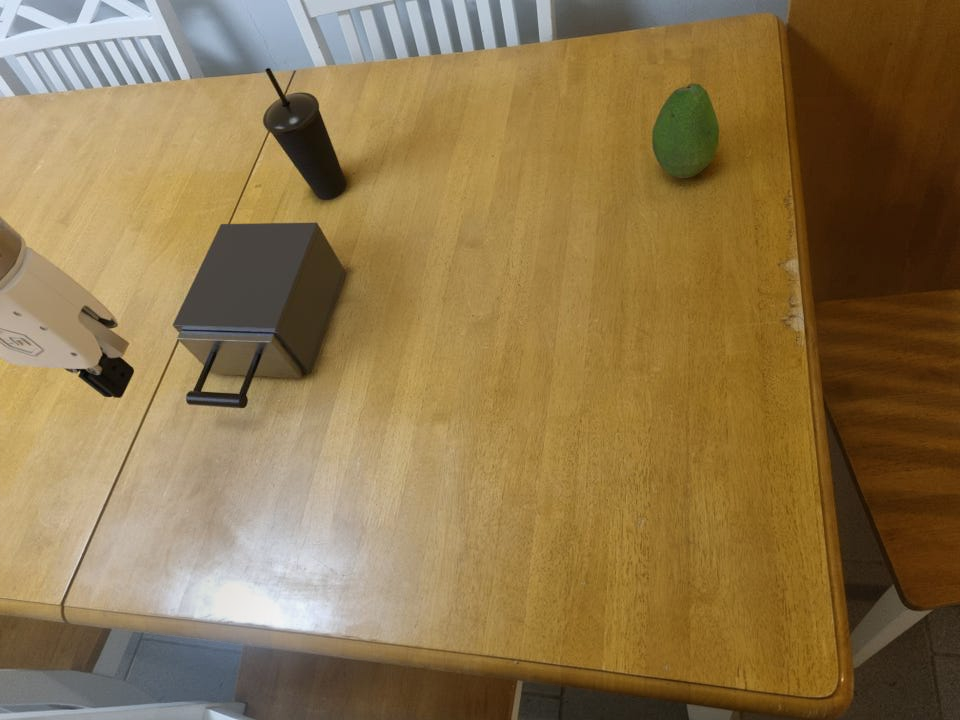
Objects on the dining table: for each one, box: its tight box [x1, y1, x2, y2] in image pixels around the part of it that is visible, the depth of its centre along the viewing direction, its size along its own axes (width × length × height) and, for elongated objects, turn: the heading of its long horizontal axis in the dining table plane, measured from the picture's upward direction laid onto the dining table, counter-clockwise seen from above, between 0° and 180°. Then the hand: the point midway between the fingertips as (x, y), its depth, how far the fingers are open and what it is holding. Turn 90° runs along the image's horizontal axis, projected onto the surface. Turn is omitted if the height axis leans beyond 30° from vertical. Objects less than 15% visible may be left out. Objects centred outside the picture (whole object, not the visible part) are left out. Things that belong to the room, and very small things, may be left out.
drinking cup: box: [262, 67, 347, 201], centre depth 98 cm, size 8×8×20 cm
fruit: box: [651, 82, 720, 179], centre depth 88 cm, size 8×8×12 cm
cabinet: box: [172, 222, 347, 375], centre depth 90 cm, size 16×14×10 cm
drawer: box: [176, 330, 303, 409], centre depth 88 cm, size 21×12×8 cm, turn 169°
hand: (120, 383), depth 68 cm, fingers closed
